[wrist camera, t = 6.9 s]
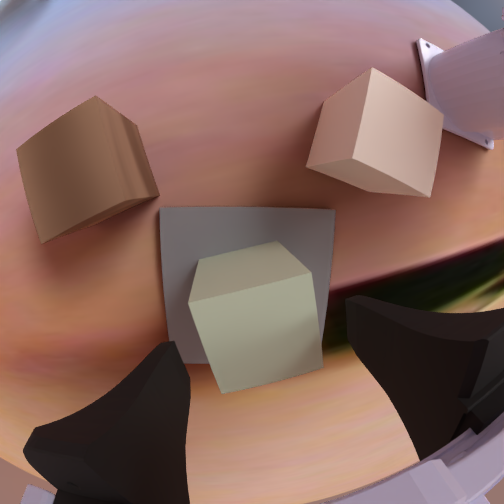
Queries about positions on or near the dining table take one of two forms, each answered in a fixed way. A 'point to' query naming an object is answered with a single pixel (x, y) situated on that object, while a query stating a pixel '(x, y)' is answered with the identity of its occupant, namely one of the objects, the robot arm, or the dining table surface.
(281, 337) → the green block
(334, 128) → the cream block
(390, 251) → the dining table surface
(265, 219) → the coaster
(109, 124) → the walnut block
